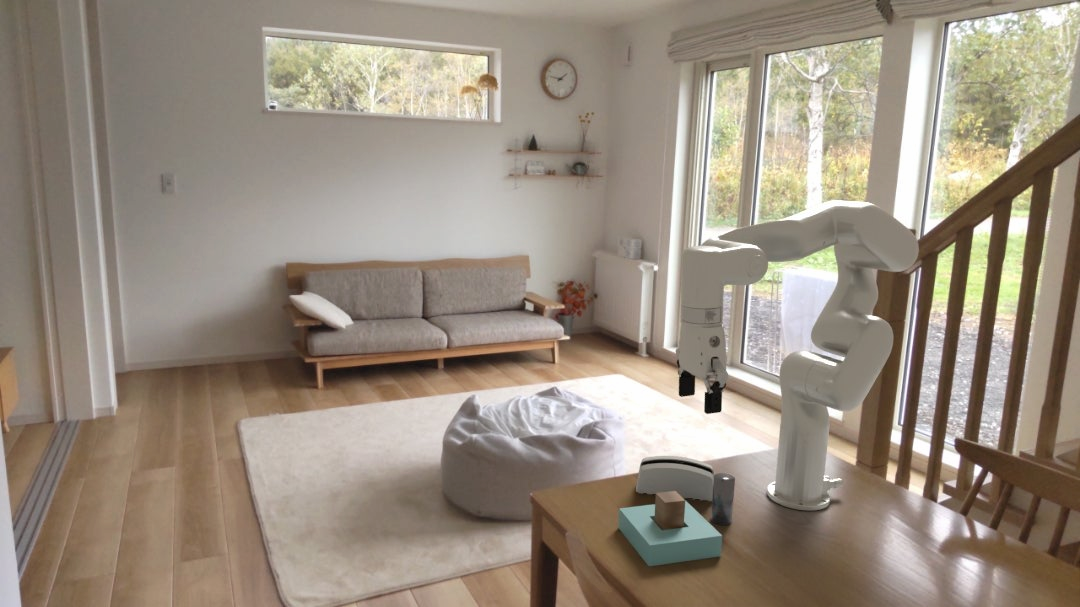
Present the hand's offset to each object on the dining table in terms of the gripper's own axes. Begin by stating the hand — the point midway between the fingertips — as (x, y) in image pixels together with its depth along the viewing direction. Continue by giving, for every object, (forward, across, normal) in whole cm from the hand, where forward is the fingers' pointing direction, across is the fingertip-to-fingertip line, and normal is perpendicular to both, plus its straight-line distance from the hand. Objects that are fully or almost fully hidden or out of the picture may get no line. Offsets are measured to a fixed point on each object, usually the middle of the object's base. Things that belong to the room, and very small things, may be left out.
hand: (699, 403), depth 135 cm
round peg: (+25, +1, -6) cm, 26 cm away
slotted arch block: (+26, +13, -2) cm, 29 cm away
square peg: (+24, -4, +8) cm, 26 cm away
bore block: (+24, -4, +8) cm, 26 cm away
